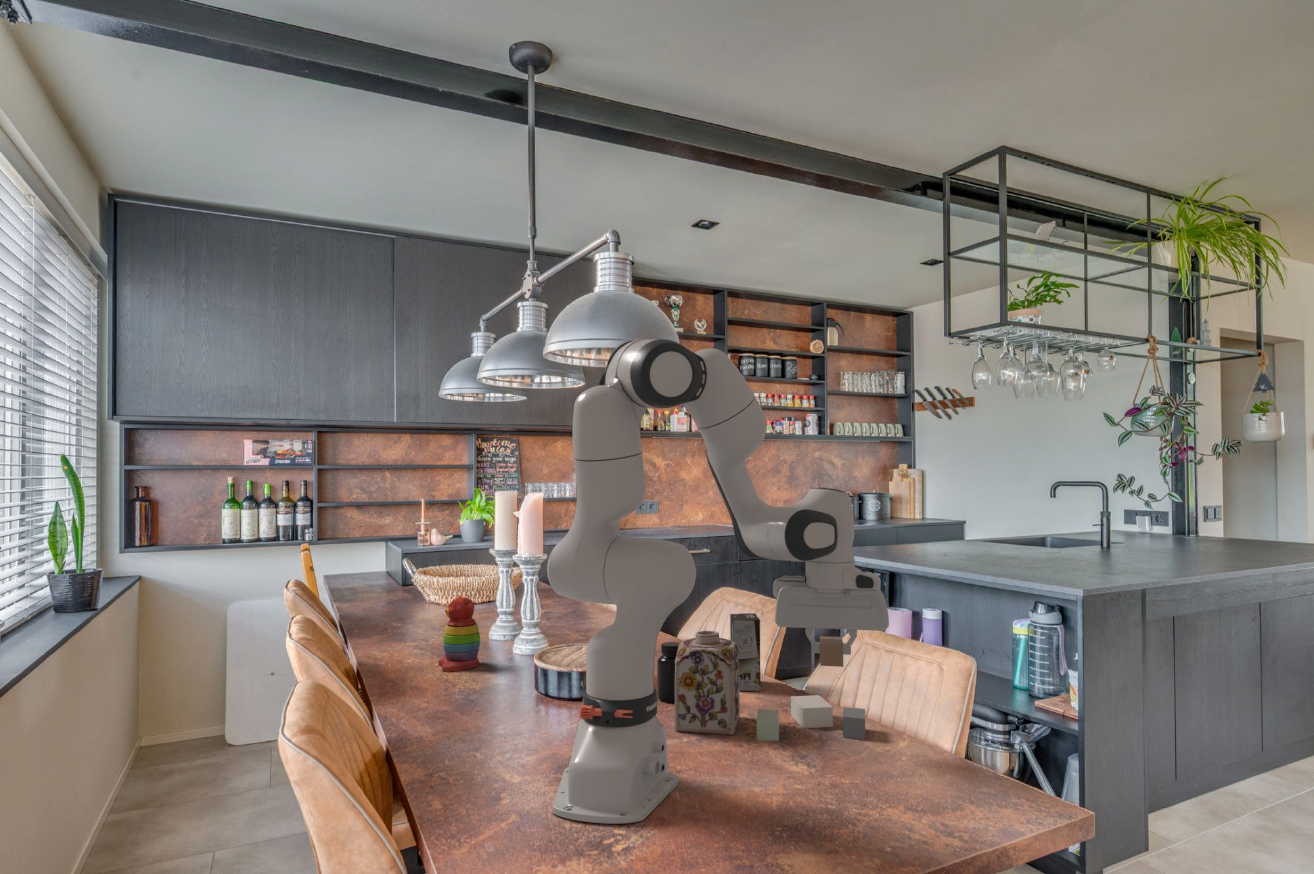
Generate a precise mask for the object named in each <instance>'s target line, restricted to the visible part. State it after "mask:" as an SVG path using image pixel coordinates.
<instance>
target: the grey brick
mask: <svg viewBox="0 0 1314 874" xmlns="http://www.w3.org/2000/svg"><path fill="white" fill-rule="evenodd" d="M842 739H853V740H862V741H863V740H864V741H866V708H861V707H860V708H859V707H858V708H857V707H845V706H844V707H843V711H842Z"/></svg>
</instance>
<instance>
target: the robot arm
mask: <svg viewBox="0 0 1314 874" xmlns="http://www.w3.org/2000/svg"><path fill="white" fill-rule="evenodd" d="M730 358H731V357H730ZM730 358H729V356H728V355H727V354H726V353H725V352H724V351H722V350H721V349H718V348H703V349H699V350H697V351H695V352H694V351H692V350H690V349H689V348H687V347H686V346H685V345H683V344H681V343H679V342H677V341H674V340H671V339H665V338H659V339H658V338H656V337H655V338H654V337H643V338H638V339H636V340H635V339H634V340H629V341H626V342H624V343H622V344H621V345H619V346H617V347H616V348H615V349H614V350H613V352H612V353H611V355H610V356H609V358H608V360H607V363H606V365H605V368H604V371H603V374H602V375H601V378H600V380H599V383H598V385H596V386H592V387H589V388H587V389H585V390H584V391H582V392H581V393H580V394H579V395H578V396H577V397H576V399H575V401H574V405H573V413H572V450H573V451H572V452H573V462H574V473H575V487H576V488H575V489H576V508H575V514H574V518H573V520H572V521H573V522H572V524H571V526H570V528H569V530H568V532H567V533H566V534H565V536H564V537H563V538H562V539H561V540H559V541H558V542H557V543H556V545H554V547H553V549H552V550H551V551H550V554H549V556H548V559H547V565H546V571H547V572H546V573H547V575H546V576H547V579H548V582H549V585H550V587H551V589H552V590H553V591H554V592H555V593H556V594H557V595H559V596H562V597H564V598H567V599H570V600H573V601H577V602H581V603H588V604H589V603H591V604H604V605H615V606H616V609H615V610H616V612H615V617H614V621H613V623H612V624H611V625H608V626H605V627H604V628H602V629H600V630H599V631H598V632H596V633H595V634H594V635H593V636H592V637H591V638H590V640H589V642H588V643H587V645H586V646H587V647H586V650H585V651H586V652H585V655H586V659H585V660H586V661H585V662H586V663H585V666H586V667H585V668H586V669H585V671H586V672H585V673H586V675H585V676H586V677H585V678H586V680H585V682H586V683H585V685H586V686H585V687H586V688H585V690H584V691H583V698H582V701H581V702H582V703H581V705H580V708H579V718H580V721H579V722H578V723H577V726H578V727H577V731H576V734H575V735H576V736H575V739H574V743H573V747H572V752H571V754H570V756H569V764H568V766H567V767H566V768H565V769H564V771H563V773H562V774H563V775H562V777H561V780H560V783H559V786H558V788H557V791H556V794H555V796H554V799H553V802H552V808H551V813H553V814H554V815H556V816H557V817H558V816H559V817H562V818H565V819H567V820H572V821H577V822H585V823H595V824H596V823H597V824H614V825H615V824H617V825H619V824H620V825H621V824H632V823H639V822H641V821H644V820H645V819H646V818H647V817H648V816H649V815H650V814H651V813H652V812H653V811H654V810H655V809H656V808H657V807H658V806H659V805H660V804H661V803H662V801H663V800H664V799H665V798H666V797H667V796H668V795H669V794H670V793H671V792H672V791H673V790H674V789H675V788H676V787H677V786H678V785H679V778H678V776H677V775H676V774H675V773H673V772H670V771H669V762H668V761H669V759H668V743H667V741H668V740H667V739H668V738H667V730H666V728H665V726H664V725H663V724H662V723H661V722H660V720H659V719H658V717H657V713H658V701H659V699H658V690H657V689H656V688H655V665H656V664H655V661H656V660H655V659H656V647H657V642H658V639H659V638H658V636H659V634H660V632H661V629H662V627H663V625H664V623H665V621H666V620H667V618H668V617H669V616H670V614H671V613H672V612H673V611H674V610H675V609H676V608H677V607H679V606H680V605H681V604H683V603H684V602H685V601H686V599H688V598H689V596H690V594H691V593H692V592H693V589H694V587H695V583H696V577H697V569H696V564H695V560H694V558H693V556H692V554H691V551H689V549H688V548H687V547H686V546H685V545H684V544H681V543H678V542H674V541H670V540H666V539H663V538H655V537H633V536H632V537H630V536H627V537H626V536H622V534H621V531H620V530H621V521H622V519H625V518H627V516H630V515H631V514H633V513H634V512H636V511H637V510H638V509H639V508H641V506H642V504H643V503H644V500H645V498H646V495H647V489H646V488H647V487H646V477H645V467H644V466H645V465H644V464H645V463H644V457H643V455H644V454H643V446H642V438H641V433H640V431H641V424H642V419H643V417H644V415H645V412H646V411H647V409H648V408H652V409H653V408H655V409H671V408H674V407H678V406H681V405H683V407H684V408H685V410H687V411H688V412H689V414H690V416H691V418H692V420H693V422H694V424H695V425H696V428H697V429H698V432H699V433H700V435H701V437H702V439H703V441H704V444H705V447H706V450H705V455H706V461H707V464H708V466H709V470H710V472H711V474H712V475H711V476H712V477H713V478H714V481H715V484H716V486H717V489H718V490H719V492H720V495H721V497H722V499H723V502H724V504H725V507H726V509H727V511H728V514H729V516H730V519H731V524H732V528H733V534H734V538H735V541H736V544H737V547H738V548H739V550H740V551H741V552H742V553H743V554H744V555H745V556H746V557H748V558H751V559H753V560H777V561H784V562H785V561H786V562H787V561H788V562H789V561H790V562H797V563H798V562H802V563H803V562H805V575H793V576H792V575H791V576H790V575H781V576H780V577H778V578H776V579H775V580H774V581H773V584H772V594H773V597H774V598H775V600H776V603H775V610H774V622H775V624H776V625H777V626H778V627H779V628H795V629H796V628H798V629H799V628H800V629H801V628H803V629H805V636H806V637H807V638H808V640H809V643H810V644H811V654H820V641H816V639H815V638H814V637H813V636H814V629H825V630H828V629H829V630H847V631H848V635H849V638H848V640H847V642H843V655H847V656H851V655H852V645H853V644H854V642H855V640H856V639H857V636H858V631H879V632H885V631H886V630H887V629H888V628H889V627H890V619H889V610H888V605H887V601H886V597H885V596H884V594H883V592H882V591H881V589H880V587H881V584H882V582H881V578H880V577H879V575H877V574H875V573H873V572H869V571H866V570H864V569H862V568H857V567H856V564H855V561H856V559H855V556H854V551H853V544H854V540H855V521H854V519H855V518H854V509H853V505H852V499H851V497H850V495H849V494H848V493H846V492H845V491H843V490H841V489H836V488H827V487H813V488H810V489H809V490H808V492H807V494H806V495H805V496H804V497H803V498H802V499H800V500H799V501H797V502H796V503H794V504H791V505H790V506H772V505H770V504H767V503H766V502H764V501H763V500H761V499H760V497H759V495H758V493H757V491H756V489H755V486H754V483H753V481H752V479H751V477H750V474H749V472H748V469H747V466H746V459H748V458H749V457H750V456H751V455H753V454H754V453H755V452H756V451H757V450H758V449H759V448H760V447H761V445H762V443H763V441H764V440H765V437H766V434H767V431H768V430H767V429H768V424H767V419H766V416H765V414H764V411H763V408H762V406H761V405H760V403H759V400H758V399H757V397H756V395H755V393H754V392H753V389H752V388H751V386H750V385H749V383H748V381H747V380H746V378H745V377H744V375H743V374H742V373H741V372H740V370H739V369H738V368H737V366H736V364H735V363H734V362H733V360H732V359H730Z"/></svg>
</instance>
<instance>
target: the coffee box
mask: <svg viewBox="0 0 1314 874" xmlns="http://www.w3.org/2000/svg"><path fill="white" fill-rule="evenodd" d="M729 631H730V632H729V637H730V638H729V640H730V641H732V642H735V643H736V645H737V648H738V651H739V652H738V654H739V655H738V656H739V660H738V661H739V692H744V691H745V692H750V691H751V692H760V691H761V620H760V618H759V616H758V615H757V613H753V612H752V613H751V612H750V613H749V612H748V613H745V612H744V613H730V614H729Z"/></svg>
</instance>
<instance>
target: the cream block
mask: <svg viewBox="0 0 1314 874" xmlns="http://www.w3.org/2000/svg"><path fill="white" fill-rule="evenodd" d="M790 715H791V717H792V718H793V719H794V720H795V721H796V722H797V723H798V724H799V726H801V727H802V729H809V728H810V729H811V728H812V729H813V728H814V729H815V728H834V708H833V706H832V705H831V704H830V703H829V702H827V701H826V699H824V698H823V697H821V695H818V694H815V695H813V694H812V695H798V696H797V695H796V696H795V695H794V696H793V695H792V696H790Z"/></svg>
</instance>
